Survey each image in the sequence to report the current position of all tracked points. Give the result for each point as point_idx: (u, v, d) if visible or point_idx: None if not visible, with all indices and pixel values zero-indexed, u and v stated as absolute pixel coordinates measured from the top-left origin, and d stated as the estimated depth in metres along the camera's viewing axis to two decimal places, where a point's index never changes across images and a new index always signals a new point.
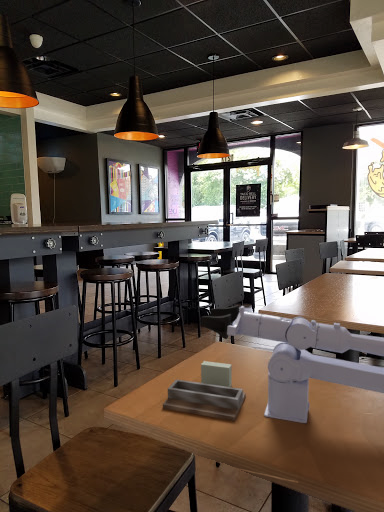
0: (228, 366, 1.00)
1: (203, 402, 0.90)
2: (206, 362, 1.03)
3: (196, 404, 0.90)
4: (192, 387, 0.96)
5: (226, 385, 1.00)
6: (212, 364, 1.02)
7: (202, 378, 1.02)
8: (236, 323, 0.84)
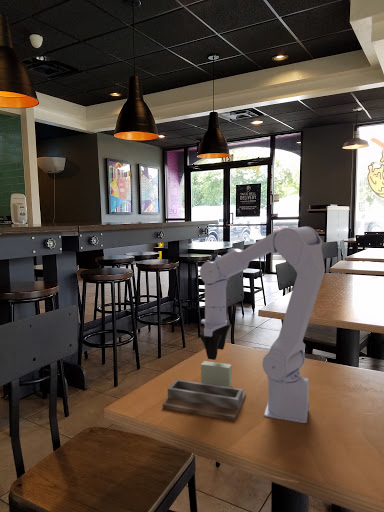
0: (228, 366, 1.00)
1: (203, 402, 0.90)
2: (206, 362, 1.03)
3: (196, 404, 0.90)
4: (192, 387, 0.96)
5: (226, 385, 1.00)
6: (212, 363, 1.02)
7: (202, 378, 1.02)
8: (205, 327, 0.96)
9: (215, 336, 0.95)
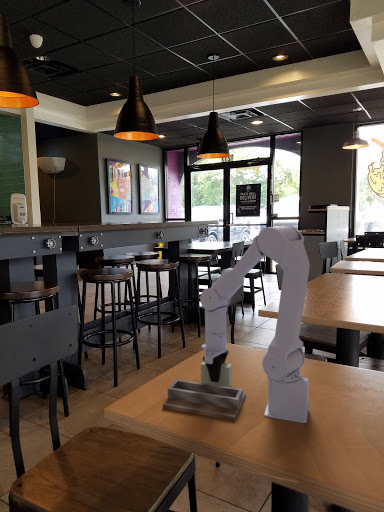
0: (228, 366, 1.00)
1: (203, 402, 0.90)
2: None
3: (196, 404, 0.90)
4: (192, 387, 0.96)
5: (226, 385, 1.00)
6: None
7: (202, 378, 1.02)
8: (205, 354, 0.97)
9: (218, 360, 0.98)
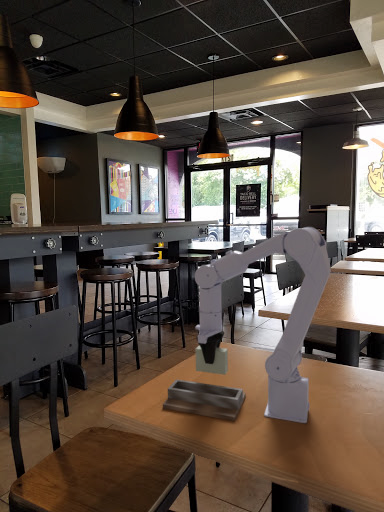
0: (224, 350, 0.95)
1: (203, 402, 0.90)
2: None
3: (196, 404, 0.90)
4: (192, 387, 0.96)
5: (222, 370, 0.95)
6: None
7: (197, 363, 0.97)
8: (199, 334, 0.92)
9: (212, 340, 0.93)
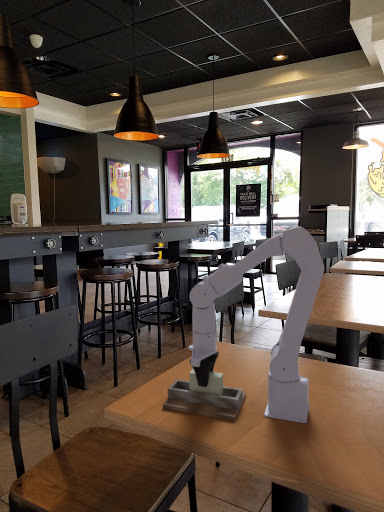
0: (219, 375, 0.91)
1: (203, 402, 0.90)
2: None
3: (196, 404, 0.90)
4: None
5: None
6: None
7: (190, 388, 0.93)
8: (192, 356, 0.87)
9: (206, 362, 0.88)
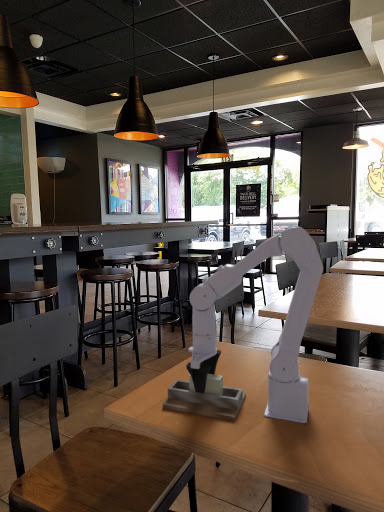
0: (219, 378, 0.91)
1: (203, 402, 0.90)
2: None
3: (196, 404, 0.90)
4: None
5: None
6: None
7: None
8: (192, 358, 0.87)
9: (203, 368, 0.86)
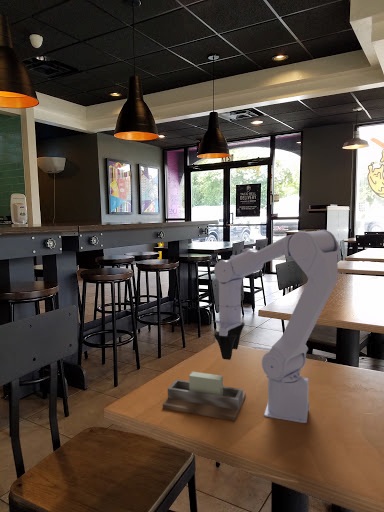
0: (219, 378, 0.91)
1: (203, 402, 0.90)
2: (195, 373, 0.94)
3: (196, 404, 0.90)
4: None
5: None
6: (201, 375, 0.93)
7: None
8: None
9: (230, 336, 0.94)
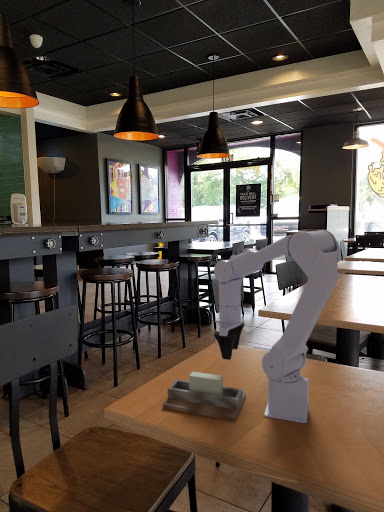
0: (219, 378, 0.91)
1: (203, 402, 0.90)
2: (195, 373, 0.94)
3: (196, 404, 0.90)
4: None
5: None
6: (201, 375, 0.93)
7: None
8: None
9: (230, 336, 0.94)
